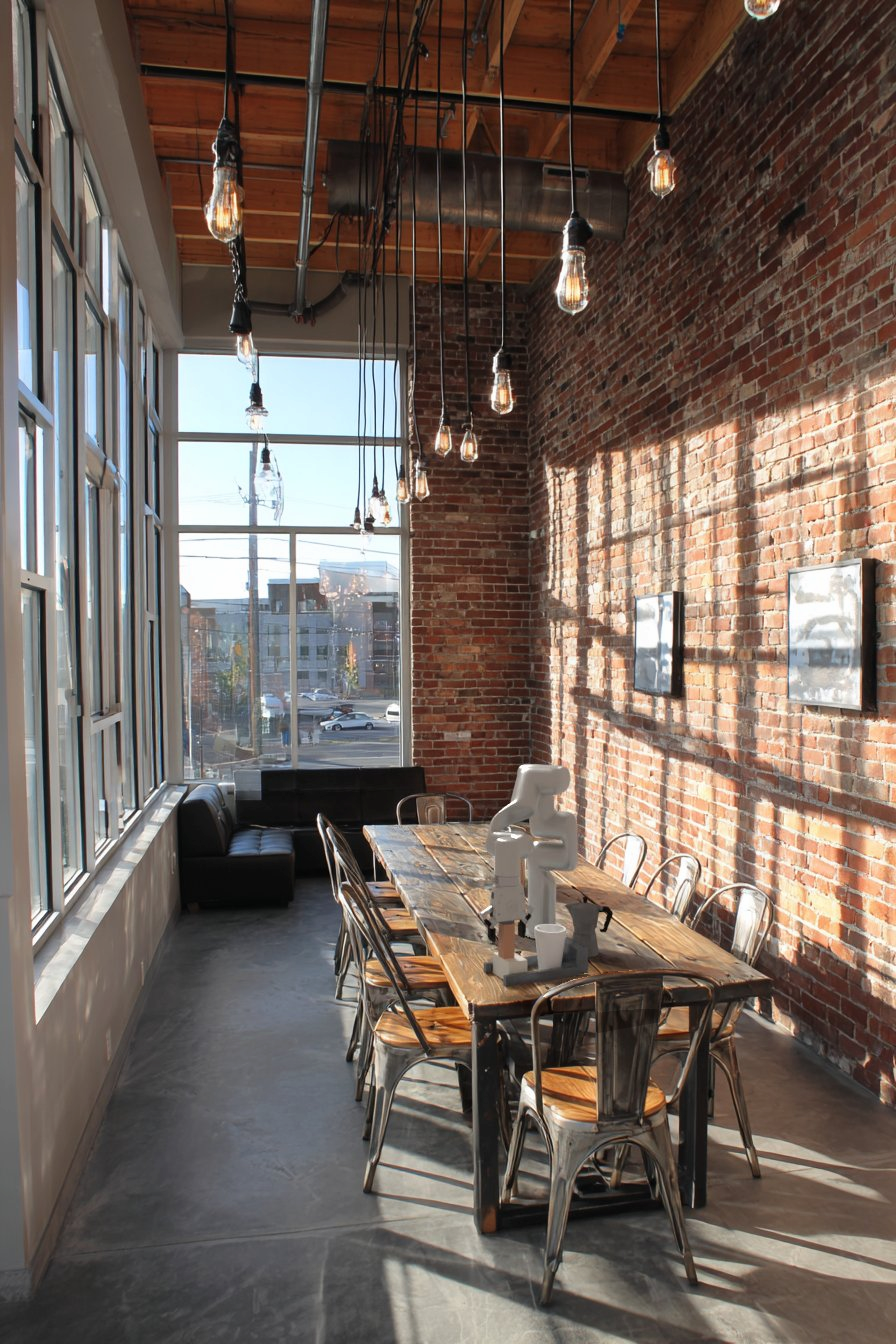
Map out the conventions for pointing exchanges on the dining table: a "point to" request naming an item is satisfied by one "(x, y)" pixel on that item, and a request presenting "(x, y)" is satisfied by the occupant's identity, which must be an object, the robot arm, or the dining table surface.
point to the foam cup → (549, 945)
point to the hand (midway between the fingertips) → (506, 938)
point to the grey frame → (571, 966)
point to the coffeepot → (588, 923)
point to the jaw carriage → (507, 952)
